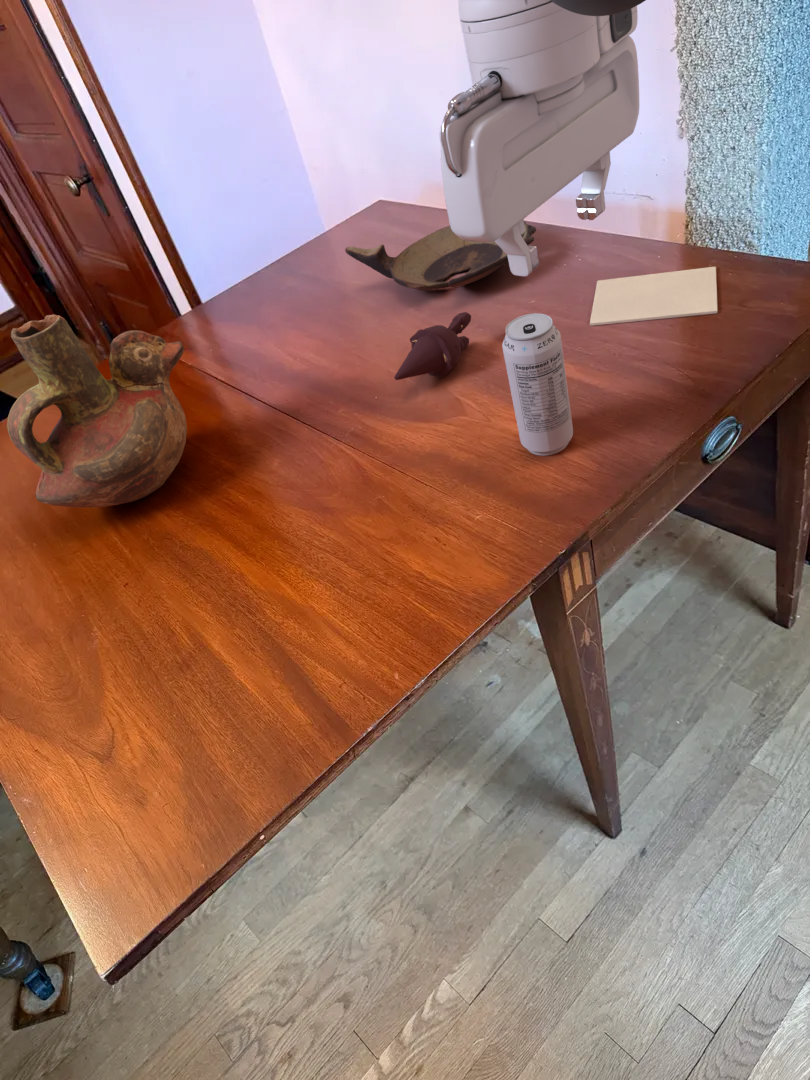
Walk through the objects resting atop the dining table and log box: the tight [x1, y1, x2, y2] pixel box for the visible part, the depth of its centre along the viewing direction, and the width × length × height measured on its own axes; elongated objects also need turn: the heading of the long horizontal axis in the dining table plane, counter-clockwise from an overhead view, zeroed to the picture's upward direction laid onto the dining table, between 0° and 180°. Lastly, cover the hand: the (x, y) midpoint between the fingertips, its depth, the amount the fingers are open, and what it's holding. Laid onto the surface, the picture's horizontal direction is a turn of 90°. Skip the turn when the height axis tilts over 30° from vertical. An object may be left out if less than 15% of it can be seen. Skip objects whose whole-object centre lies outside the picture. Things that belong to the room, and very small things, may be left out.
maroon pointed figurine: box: [393, 311, 472, 381], centre depth 101 cm, size 7×7×15 cm
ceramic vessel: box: [6, 314, 188, 508], centre depth 94 cm, size 17×26×25 cm, turn 132°
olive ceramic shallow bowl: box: [344, 220, 537, 290], centre depth 122 cm, size 22×30×8 cm
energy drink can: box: [501, 312, 574, 457], centre depth 81 cm, size 6×6×15 cm
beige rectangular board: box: [589, 266, 719, 327], centre depth 102 cm, size 16×12×1 cm
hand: (559, 243), depth 60 cm, fingers open, 8 cm apart
